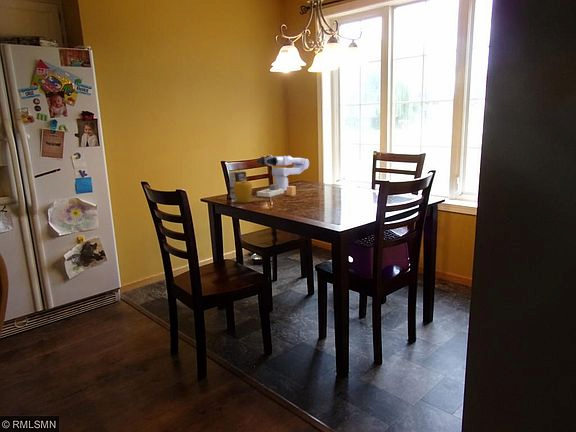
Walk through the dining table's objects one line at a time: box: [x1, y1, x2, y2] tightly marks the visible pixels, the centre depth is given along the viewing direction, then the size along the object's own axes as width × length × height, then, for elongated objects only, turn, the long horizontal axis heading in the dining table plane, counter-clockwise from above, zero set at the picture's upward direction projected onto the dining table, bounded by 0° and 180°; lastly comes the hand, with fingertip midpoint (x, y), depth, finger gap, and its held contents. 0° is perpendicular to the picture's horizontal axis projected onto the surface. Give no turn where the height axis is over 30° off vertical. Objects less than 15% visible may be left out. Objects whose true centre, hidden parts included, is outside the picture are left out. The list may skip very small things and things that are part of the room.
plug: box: [286, 185, 297, 197], centre depth 273 cm, size 4×4×6 cm
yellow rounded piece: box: [234, 180, 253, 204], centre depth 255 cm, size 11×11×13 cm
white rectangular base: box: [256, 183, 285, 199], centre depth 275 cm, size 16×10×6 cm, turn 146°
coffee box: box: [228, 170, 247, 200], centre depth 269 cm, size 9×6×16 cm
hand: (262, 161), depth 271 cm, fingers open, 7 cm apart
